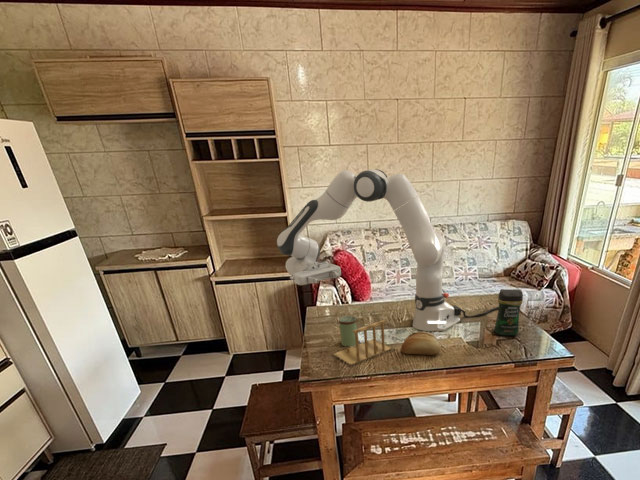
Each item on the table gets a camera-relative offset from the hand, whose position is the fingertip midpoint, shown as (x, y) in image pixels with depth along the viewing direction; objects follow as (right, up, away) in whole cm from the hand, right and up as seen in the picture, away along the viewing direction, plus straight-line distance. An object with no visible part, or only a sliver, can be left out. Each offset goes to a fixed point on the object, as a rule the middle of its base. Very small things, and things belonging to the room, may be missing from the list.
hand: (327, 278), depth 162 cm
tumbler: (+9, -26, +4) cm, 28 cm away
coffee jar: (+74, -21, +8) cm, 77 cm away
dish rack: (+14, -30, -3) cm, 33 cm away
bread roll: (+37, -30, -6) cm, 48 cm away
